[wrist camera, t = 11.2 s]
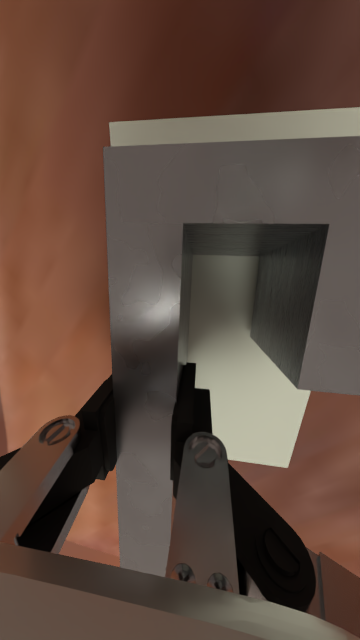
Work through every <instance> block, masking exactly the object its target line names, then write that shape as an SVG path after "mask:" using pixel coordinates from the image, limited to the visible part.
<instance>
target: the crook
mask: <svg viewBox="0 0 360 640" xmlns="http://www.w3.org/2000/svg"><path fill="white" fill-rule="evenodd" d="M103 159H104V183H105V207H106V232H107V256H108V280H109V305H110V329H111V353H112V378H113V397H114V401H115V424H116V448H117V462H116V475H117V499H118V524H119V548H120V568H125V569H130V570H134V571H139V572H143V573H148V574H153V575H157V576H162V577H165V574H166V567H167V560H168V553H169V546H170V540H171V533H172V526H173V519H174V512H175V505H176V499H175V497H174V496H173V480H170V458H171V421H172V414H173V409H174V404H176V401H177V396H178V391H179V386H180V381H181V376H182V370H183V365H186V362H187V358H188V339H189V319H190V300H191V281H192V261H193V255H227V256H260V259H259V267H258V275H257V283H256V291H255V299H254V307H253V315H252V323H251V331H250V337H251V338H252V340H253V341H254V342H255V343H256V344H257V345H258V346H259V347H260V348H261V350H262V351H263V352H264V353H265V354H266V355H267V356H268V357H269V358H270V359H271V361H272V362H273V363H274V364H275V365H276V366H277V367H278V368H279V369H280V371H281V372H282V373H283V374H284V375H285V376H286V377H287V378H288V379H289V380H290V382H291V383H292V384H293V385H294V386H295V387H296V388H297V389H300V390H310V391H320V392H330V393H340V394H351V395H360V136H344V137H321V138H298V139H274V140H251V141H228V142H204V143H181V144H158V145H134V146H111V147H103Z"/></svg>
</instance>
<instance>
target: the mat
mask: <svg viewBox="0 0 360 640" xmlns="http://www.w3.org/2000/svg"><path fill="white" fill-rule="evenodd" d="M109 128H110V142H111V146H134V145H158V144H181V143H204V142H228V141H251V140H274V139H298V138H321V137H344V136H360V107H355V108H338V109H322V110H305V111H288V112H272V113H255V114H238V115H222V116H205V117H188V118H172V119H155V120H138V121H122V122H109ZM259 259H260V256H227V255H193V261H192V281H191V300H190V319H189V339H188V358H187V362H189V363H196V376H195V388H201V389H209V390H210V402H211V417H212V433H213V435H215V436H216V437H218V438H219V439H220V440H221V441H222V443H223V444H224V446H225V448H226V452H227V459H229V460H236V461H243V462H250V463H257V464H264V465H271V466H278V467H285V468H288V465H289V462H290V458H291V455H292V452H293V448H294V445H295V442H296V438H297V435H298V432H299V428H300V425H301V422H302V418H303V415H304V411H305V408H306V405H307V401H308V398H309V395H310V390H300V389H297V388H296V387H295V386H294V385H293V384H292V383H291V382H290V380H289V379H288V378H287V377H286V376H285V375H284V374H283V373H282V372H281V371H280V369H279V368H278V367H277V366H276V365H275V364H274V363H273V362H272V361H271V359H270V358H269V357H268V356H267V355H266V354H265V353H264V352H263V351H262V350H261V348H260V347H259V346H258V345H257V344H256V343H255V342H254V341H253V340H252V338H251V337H250V331H251V323H252V315H253V307H254V299H255V291H256V283H257V275H258V267H259Z"/></svg>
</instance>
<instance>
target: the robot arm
mask: <svg viewBox="0 0 360 640" xmlns="http://www.w3.org/2000/svg"><path fill="white" fill-rule="evenodd" d="M195 376H196V363H189V362H186V365H183V370H182V376H181V381H180V386H179V391H178V396H177V401H176V404H174V409H173V414H172V421H171V458H170V480H173V496H174V497H175V499H176V505H175V512H174V519H173V526H172V533H171V540H170V546H169V553H168V560H167V567H166V574H165V577H162V576H157V575H153V574H148V573H143V572H139V571H134V570H130V569H125V568H120V567H116V566H111V565H106V564H102V563H96V562H92V561H88V560H83V559H78V558H73V557H69V556H64V555H59V552H60V550H61V548H62V545H63V543H64V541H65V539H66V537H67V535H68V533H69V531H70V528H71V526H72V524H73V522H74V520H75V518H76V516H77V514H78V511H79V509H80V507H81V505H82V503H83V501H84V499H85V496H86V494H87V492H88V489H89V485H90V484H92V483H93V482H94V481H95V479H100V480H105V478H106V476H107V474H108V472H109V471H112V470H113V469H114V467H115V465H116V462H117V448H116V424H115V401H114V397H113V378H112V375H111V376H110V377H109V378H108V379H107V380H105V381H104V382H103V384H102V385H101V386H100V387H99V388H98V390H97V391H96V392H95V393H94V394H93V395H92V397H91V398H90V399H89V400H88V401H87V402H86V404H85V405H84V406H83V407H82V408H81V410H80V411H79V412H78V413H77V414H76V415H75V416H71V415H68V416H61V417H58V418H55V419H53V420H51V421H49V422H48V423H46V424H45V425H43V426H42V427H41V428H40V429H39V430H38V431H37V432H36V433H35V434H34V435H33V436H32V437H31V438H30V439H29V441H28V442H27V443H26V444H25V445H24V446H23V447H22V448H19V449H17V450H15V451H13V452H10V453H8V454H6V455H4V456H1V457H0V640H360V578H359V577H358V576H356V575H355V574H353V573H351V572H350V571H348V570H347V569H345V568H344V567H342V566H341V565H339V564H338V563H336V562H335V561H333V560H332V559H330V558H329V557H327V556H326V555H324V554H323V553H321V552H319V555H317V554H315V553H314V552H312V551H311V550H309V549H308V548H306V547H305V545H304V544H303V542H302V540H301V539H300V537H299V536H298V535H297V534H296V532H295V531H294V530H293V529H292V528H291V527H290V526H289V525H288V524H287V523H286V521H285V520H284V519H283V518H282V517H281V516H280V515H279V514H278V513H277V512H276V511H275V510H274V509H273V508H272V507H271V506H270V505H269V504H268V503H267V502H266V501H265V500H264V499H263V498H262V497H261V496H260V495H259V494H258V493H257V492H256V491H255V490H254V489H253V488H252V487H251V486H250V485H249V484H248V483H247V482H246V481H245V480H244V479H243V478H242V477H241V476H240V474H239V473H238V472H237V471H236V470H235V469H234V468H233V467H232V466H231V465H230V464H229V463H228V459H227V452H226V448H225V446H224V444H223V443H222V441H221V440H220V439H219V438H218V437H216V436H215V435H213V433H212V417H211V402H210V390H209V389H201V388H195Z"/></svg>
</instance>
